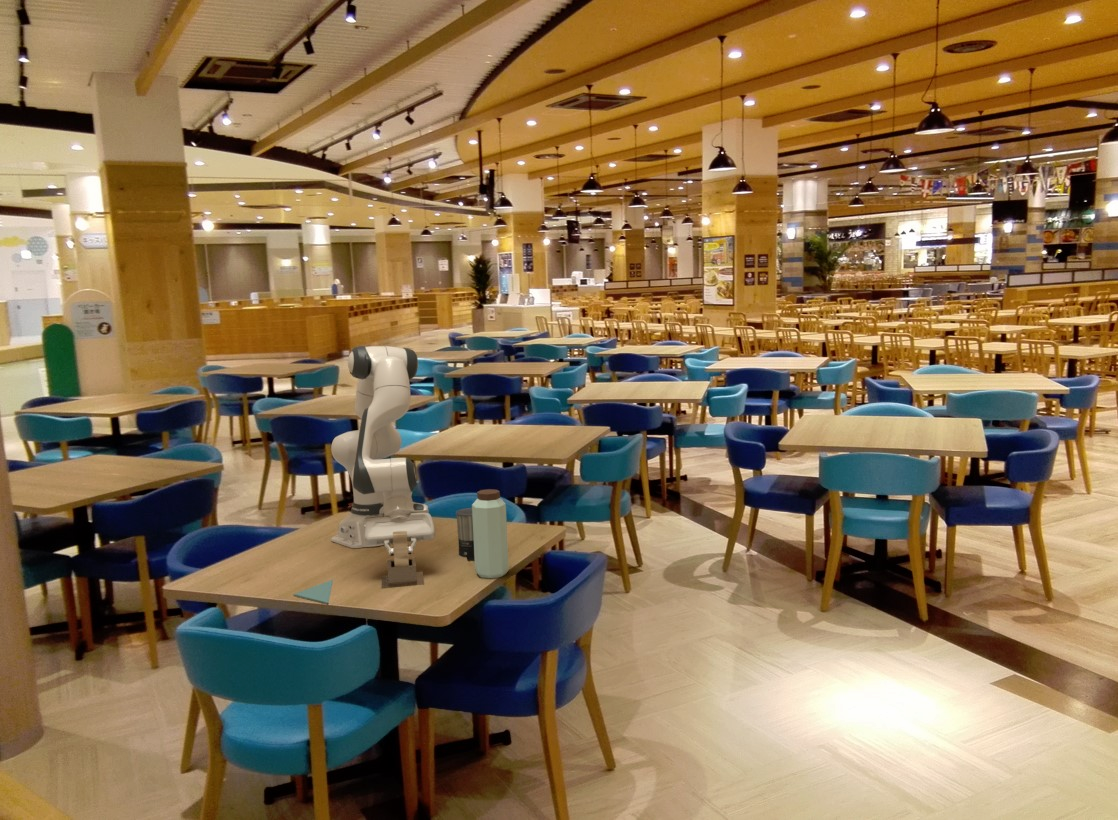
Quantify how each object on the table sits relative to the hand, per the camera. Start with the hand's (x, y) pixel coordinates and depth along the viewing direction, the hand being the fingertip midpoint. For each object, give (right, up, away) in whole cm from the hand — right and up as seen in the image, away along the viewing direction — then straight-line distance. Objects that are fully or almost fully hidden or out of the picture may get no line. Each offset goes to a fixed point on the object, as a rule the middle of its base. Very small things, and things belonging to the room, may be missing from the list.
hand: (401, 554), depth 251 cm
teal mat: (-18, -10, -4) cm, 21 cm away
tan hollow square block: (0, -9, +2) cm, 9 cm away
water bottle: (+26, -7, +7) cm, 28 cm away
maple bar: (0, -8, +2) cm, 8 cm away
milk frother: (+21, -5, +29) cm, 36 cm away
